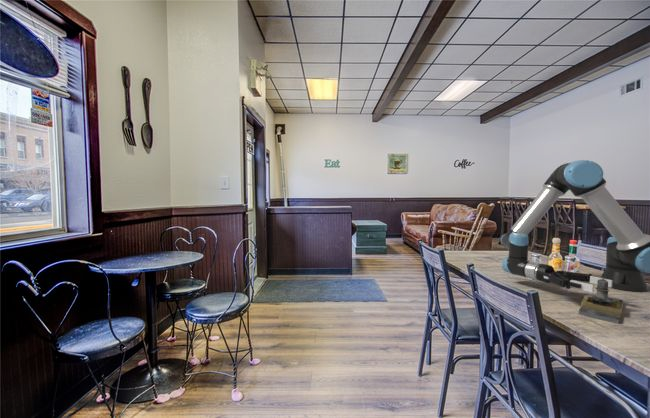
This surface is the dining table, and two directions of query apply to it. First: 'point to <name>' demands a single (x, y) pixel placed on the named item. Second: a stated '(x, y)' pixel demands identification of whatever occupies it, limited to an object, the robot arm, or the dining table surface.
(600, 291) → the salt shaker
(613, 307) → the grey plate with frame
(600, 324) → the dining table surface
